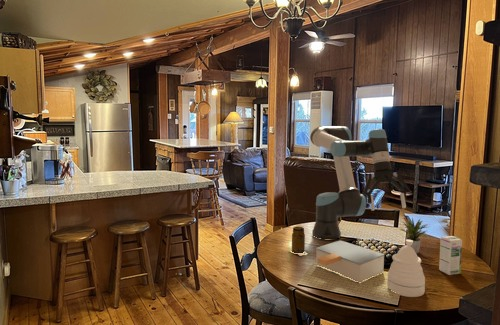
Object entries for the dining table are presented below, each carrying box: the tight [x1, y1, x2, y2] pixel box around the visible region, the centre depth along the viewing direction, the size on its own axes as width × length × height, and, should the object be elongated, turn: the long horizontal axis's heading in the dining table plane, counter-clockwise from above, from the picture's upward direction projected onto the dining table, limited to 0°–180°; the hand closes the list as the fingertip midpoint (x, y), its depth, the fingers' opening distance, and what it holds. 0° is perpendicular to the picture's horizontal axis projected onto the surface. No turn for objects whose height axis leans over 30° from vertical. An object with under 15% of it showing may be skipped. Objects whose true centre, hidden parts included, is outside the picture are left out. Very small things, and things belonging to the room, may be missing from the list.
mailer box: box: [315, 250, 385, 282], centre depth 155 cm, size 22×16×8 cm
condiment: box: [291, 226, 306, 253], centre depth 175 cm, size 7×8×12 cm
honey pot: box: [386, 240, 426, 298], centre depth 137 cm, size 13×13×18 cm
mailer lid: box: [315, 239, 385, 266], centre depth 152 cm, size 22×25×2 cm
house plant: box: [399, 217, 429, 254], centre depth 175 cm, size 14×14×16 cm
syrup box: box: [438, 235, 463, 276], centre depth 152 cm, size 6×6×14 cm
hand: (388, 209), depth 163 cm, fingers open, 13 cm apart
